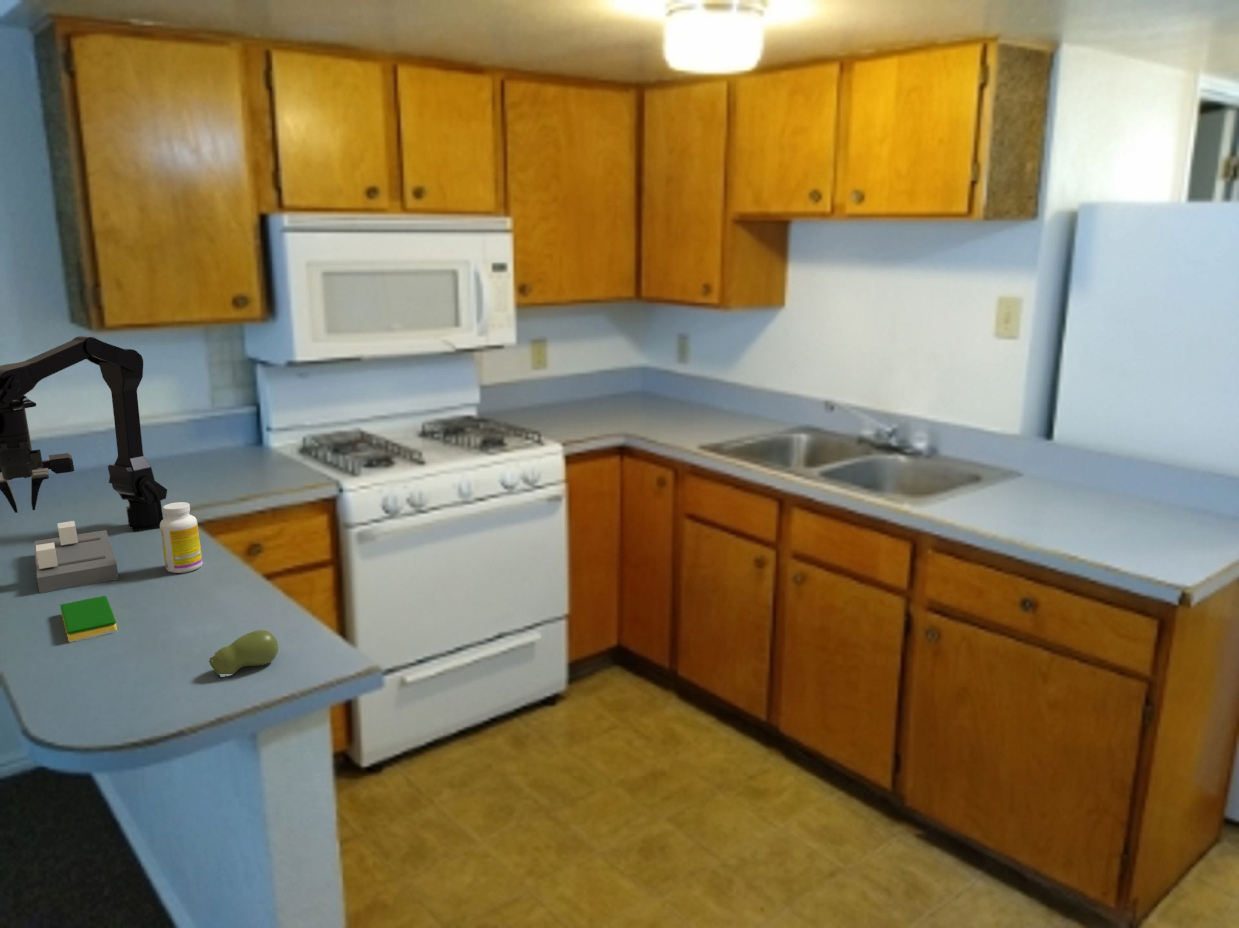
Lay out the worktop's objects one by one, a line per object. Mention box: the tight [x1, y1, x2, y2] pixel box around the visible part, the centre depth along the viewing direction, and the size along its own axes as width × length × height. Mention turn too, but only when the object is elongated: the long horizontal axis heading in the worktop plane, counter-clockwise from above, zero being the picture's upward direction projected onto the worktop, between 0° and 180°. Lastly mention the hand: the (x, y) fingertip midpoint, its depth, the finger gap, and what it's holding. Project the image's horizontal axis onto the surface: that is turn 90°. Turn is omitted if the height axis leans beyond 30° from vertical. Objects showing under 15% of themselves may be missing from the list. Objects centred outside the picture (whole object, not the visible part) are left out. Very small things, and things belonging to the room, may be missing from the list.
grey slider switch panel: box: [33, 529, 119, 594], centre depth 187 cm, size 13×24×3 cm, turn 32°
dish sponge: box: [59, 595, 118, 642], centre depth 161 cm, size 7×14×2 cm, turn 34°
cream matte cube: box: [57, 520, 78, 545], centre depth 191 cm, size 3×4×4 cm
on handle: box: [36, 542, 58, 569], centre depth 178 cm, size 3×4×4 cm
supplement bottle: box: [159, 501, 203, 574], centre depth 185 cm, size 7×7×13 cm
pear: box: [208, 629, 279, 675], centre depth 145 cm, size 6×5×10 cm
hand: (25, 511), depth 186 cm, fingers open, 3 cm apart
